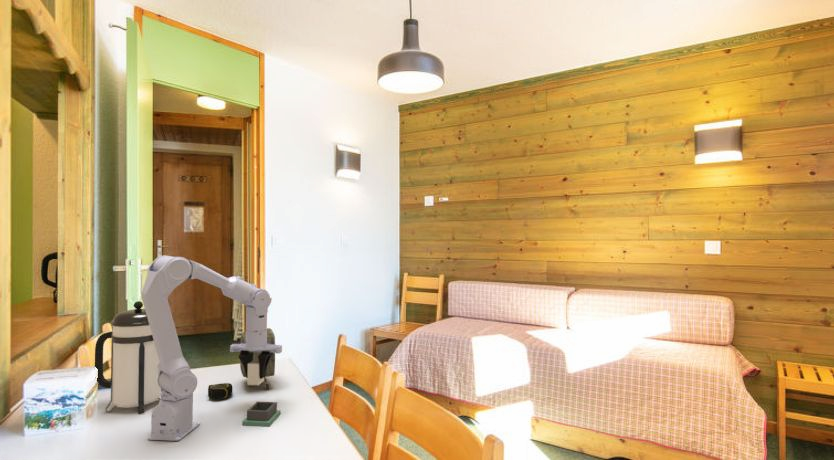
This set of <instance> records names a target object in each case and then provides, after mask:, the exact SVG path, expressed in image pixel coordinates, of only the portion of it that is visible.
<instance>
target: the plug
mask: <svg viewBox="0 0 834 460" xmlns="http://www.w3.org/2000/svg"><path fill="white" fill-rule="evenodd" d="M259 371H260V366H259V359H254V360H252V361H251V362H250V363H248V378H247V383H246V384H247V386H248V385H252V386H260V385H261V384H262V383H263V382H264V378H262V379H260V376H259Z"/></svg>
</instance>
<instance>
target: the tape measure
mask: <svg viewBox="0 0 834 460" xmlns="http://www.w3.org/2000/svg"><path fill="white" fill-rule="evenodd" d="M232 384H233V383H229V382H227V383H226V382H225V383H215V384H209V385H208V387H207V395H208V398H209V399H210V400H219V401H220V400H225V399H227V398H230V397H231V396H232V394H233V385H232Z"/></svg>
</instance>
